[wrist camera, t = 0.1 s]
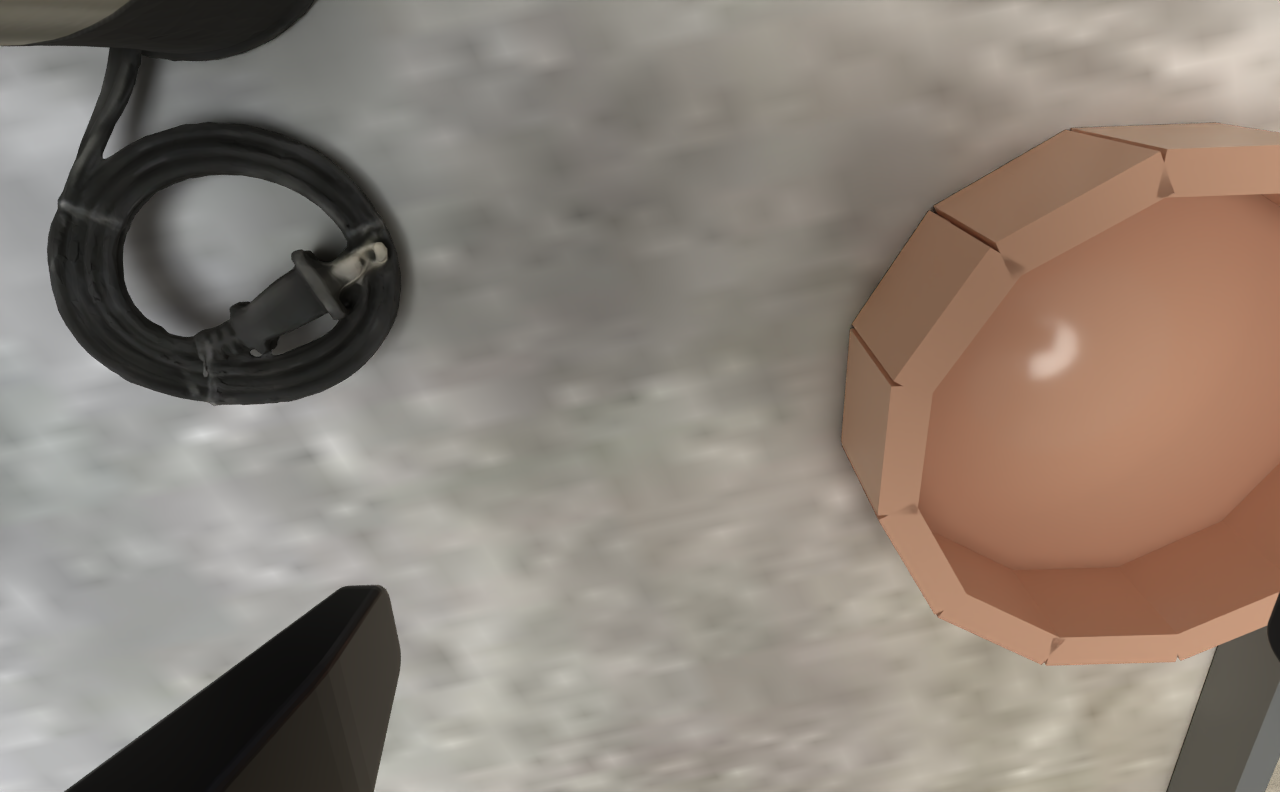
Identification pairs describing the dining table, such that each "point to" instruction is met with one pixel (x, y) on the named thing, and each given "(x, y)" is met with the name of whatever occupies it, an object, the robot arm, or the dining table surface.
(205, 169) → the milk frother
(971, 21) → the dining table surface
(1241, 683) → the gray square frame
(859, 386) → the bowl
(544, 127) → the dining table surface
